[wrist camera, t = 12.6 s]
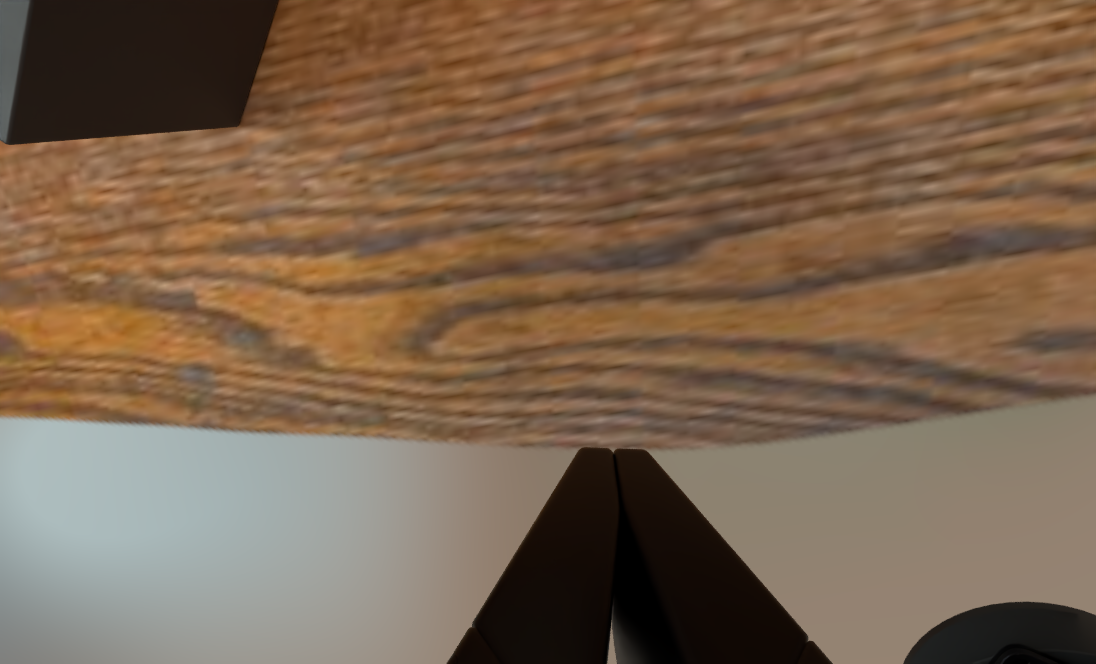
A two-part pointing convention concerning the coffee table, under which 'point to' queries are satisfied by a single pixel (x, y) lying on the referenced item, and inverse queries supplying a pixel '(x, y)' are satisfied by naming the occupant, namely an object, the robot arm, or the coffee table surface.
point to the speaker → (126, 66)
